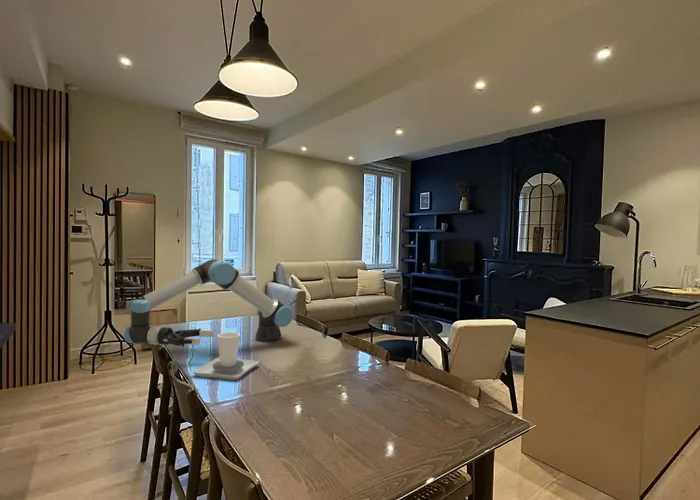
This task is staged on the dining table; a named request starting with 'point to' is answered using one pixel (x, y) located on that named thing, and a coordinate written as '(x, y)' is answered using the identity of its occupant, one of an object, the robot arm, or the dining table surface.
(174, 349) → the dining table surface
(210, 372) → the salad plate
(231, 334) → the foam cup
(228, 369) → the slate coaster
